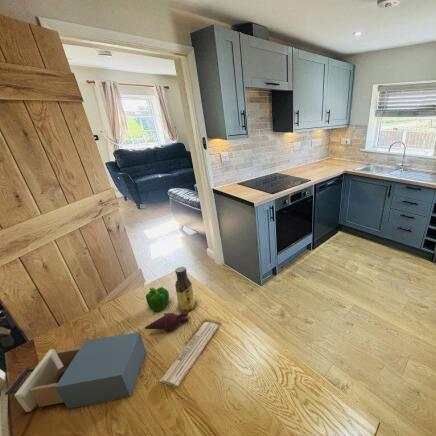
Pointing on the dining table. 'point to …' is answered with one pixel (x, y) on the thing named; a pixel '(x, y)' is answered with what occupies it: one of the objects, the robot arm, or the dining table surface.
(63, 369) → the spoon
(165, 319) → the beetroot
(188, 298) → the sauce bottle
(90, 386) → the cabinet
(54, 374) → the drawer
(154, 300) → the bell pepper
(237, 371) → the dining table surface
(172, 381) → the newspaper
